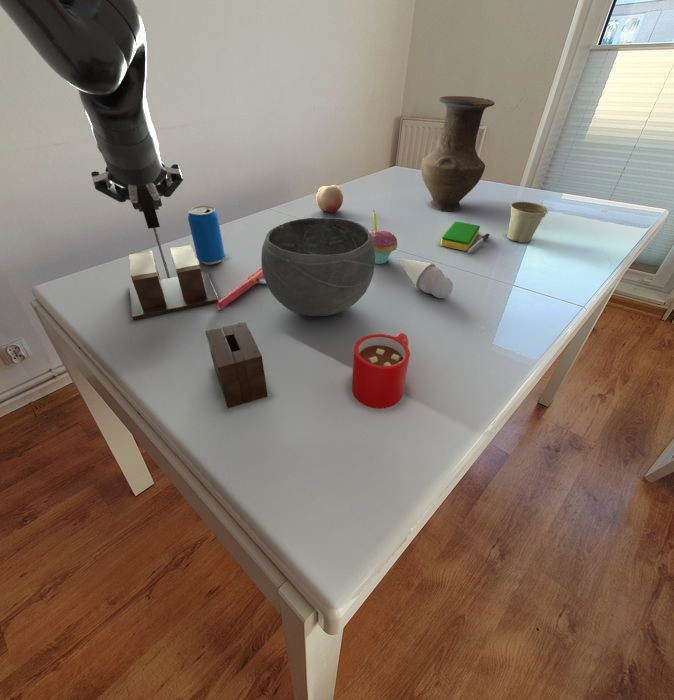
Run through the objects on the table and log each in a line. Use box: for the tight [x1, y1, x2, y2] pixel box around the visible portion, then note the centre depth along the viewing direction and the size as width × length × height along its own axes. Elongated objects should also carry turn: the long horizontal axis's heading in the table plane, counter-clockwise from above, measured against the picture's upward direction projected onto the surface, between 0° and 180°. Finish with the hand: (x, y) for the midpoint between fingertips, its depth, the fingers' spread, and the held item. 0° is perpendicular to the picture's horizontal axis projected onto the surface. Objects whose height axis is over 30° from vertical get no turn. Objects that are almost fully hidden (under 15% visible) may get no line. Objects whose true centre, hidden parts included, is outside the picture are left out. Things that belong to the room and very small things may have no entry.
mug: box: [351, 332, 411, 410], centre depth 57 cm, size 8×12×8 cm, turn 146°
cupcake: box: [369, 209, 398, 265], centre depth 90 cm, size 9×8×12 cm
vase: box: [420, 95, 495, 212], centre depth 116 cm, size 19×19×30 cm
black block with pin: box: [137, 189, 171, 278], centre depth 70 cm, size 2×3×17 cm, turn 25°
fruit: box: [315, 184, 344, 213], centre depth 117 cm, size 8×8×8 cm
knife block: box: [205, 321, 268, 410], centre depth 56 cm, size 6×9×8 cm, turn 25°
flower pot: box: [506, 201, 550, 243], centre depth 103 cm, size 9×9×9 cm
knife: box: [467, 233, 490, 254], centre depth 99 cm, size 15×1×2 cm, turn 143°
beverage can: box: [187, 205, 226, 265], centre depth 88 cm, size 6×6×12 cm
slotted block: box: [128, 244, 220, 322], centre depth 76 cm, size 16×13×8 cm
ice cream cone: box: [397, 257, 454, 299], centre depth 81 cm, size 6×6×15 cm
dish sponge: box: [440, 221, 481, 252], centre depth 103 cm, size 7×14×2 cm, turn 152°
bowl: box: [260, 217, 376, 317], centre depth 72 cm, size 21×21×15 cm
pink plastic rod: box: [216, 267, 267, 311], centre depth 82 cm, size 24×2×5 cm
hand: (147, 205), depth 69 cm, fingers closed on black block with pin, 2 cm apart
